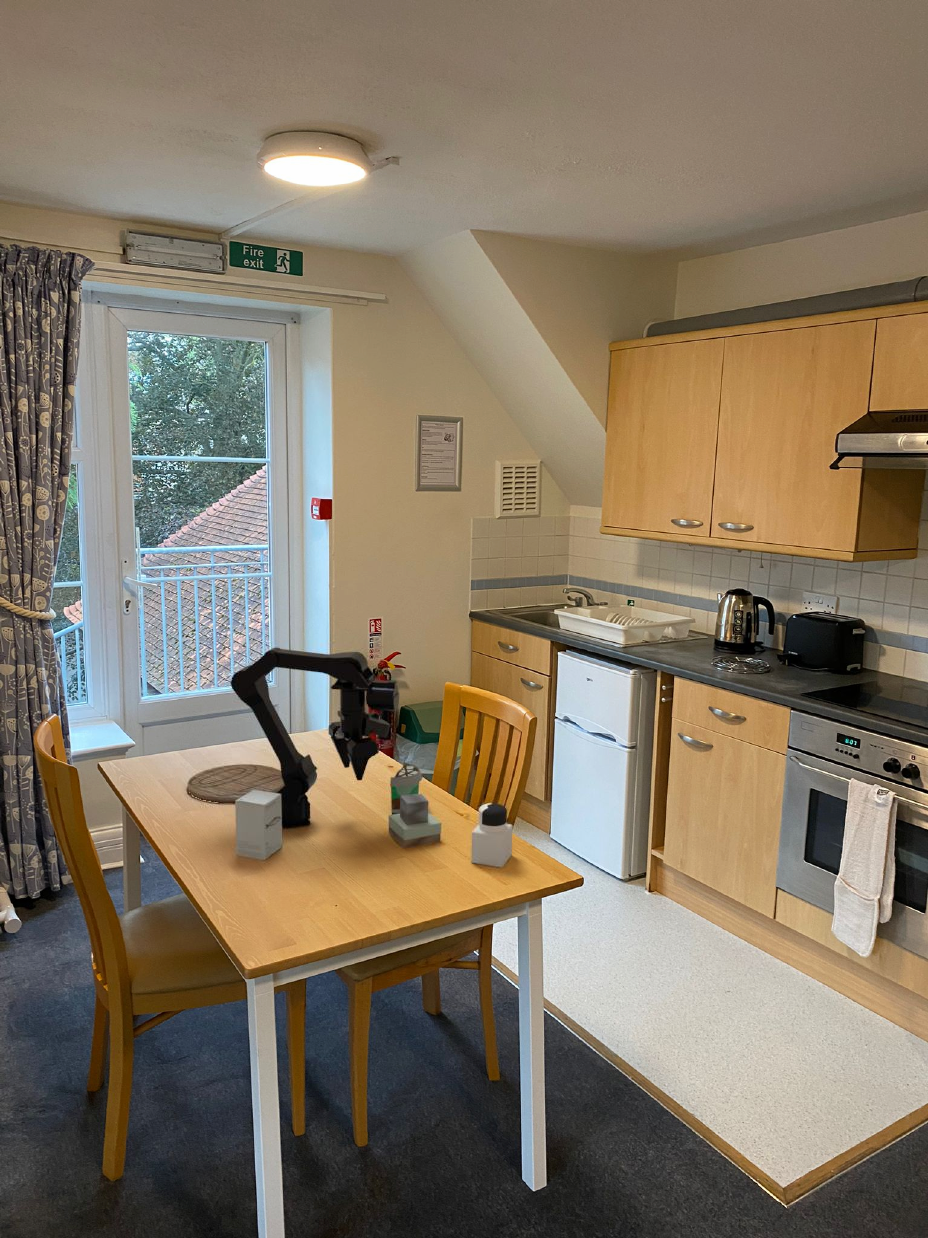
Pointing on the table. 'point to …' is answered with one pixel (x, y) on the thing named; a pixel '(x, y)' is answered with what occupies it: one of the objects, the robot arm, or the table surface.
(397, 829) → the sage slab
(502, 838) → the medicine bottle
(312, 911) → the table surface
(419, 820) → the grey cube
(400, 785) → the food container
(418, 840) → the walnut slab
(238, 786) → the trivet
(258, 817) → the supplement box
